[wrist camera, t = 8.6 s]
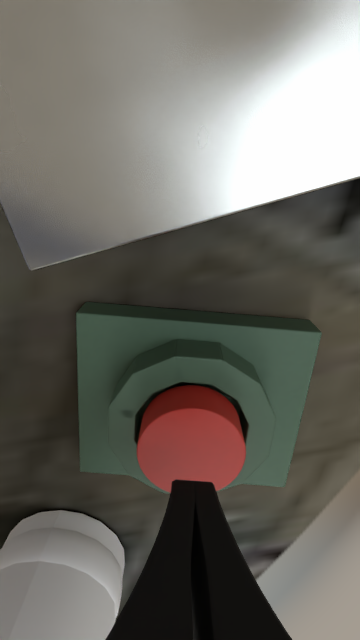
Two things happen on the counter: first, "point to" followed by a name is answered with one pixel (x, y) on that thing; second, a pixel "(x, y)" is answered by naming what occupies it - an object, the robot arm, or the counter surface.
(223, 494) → the counter surface
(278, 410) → the green base
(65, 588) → the bottle
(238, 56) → the canister lid
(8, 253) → the counter surface
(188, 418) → the timer button
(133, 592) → the robot arm
